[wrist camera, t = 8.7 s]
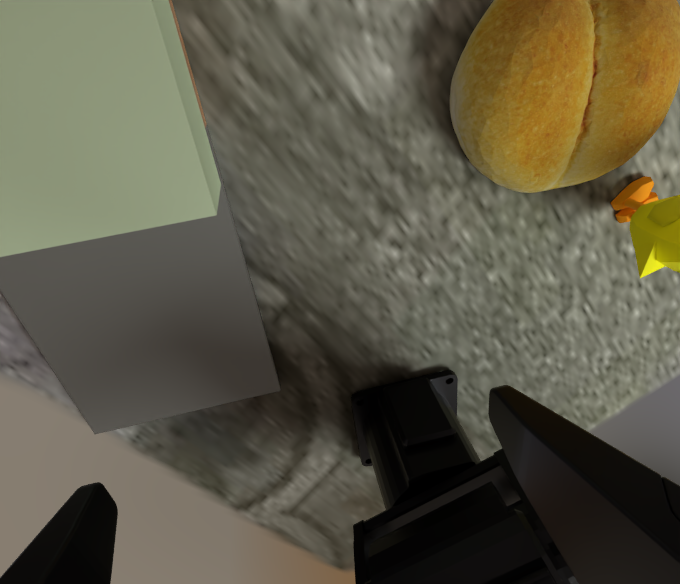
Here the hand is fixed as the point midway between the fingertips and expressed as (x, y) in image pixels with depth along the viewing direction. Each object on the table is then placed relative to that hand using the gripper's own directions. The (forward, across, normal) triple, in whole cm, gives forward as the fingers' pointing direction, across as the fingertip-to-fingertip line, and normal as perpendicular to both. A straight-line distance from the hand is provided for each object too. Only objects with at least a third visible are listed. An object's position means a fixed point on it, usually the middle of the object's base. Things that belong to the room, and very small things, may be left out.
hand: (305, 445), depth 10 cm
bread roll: (+12, -13, -5) cm, 18 cm away
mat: (+12, +7, +1) cm, 13 cm away
